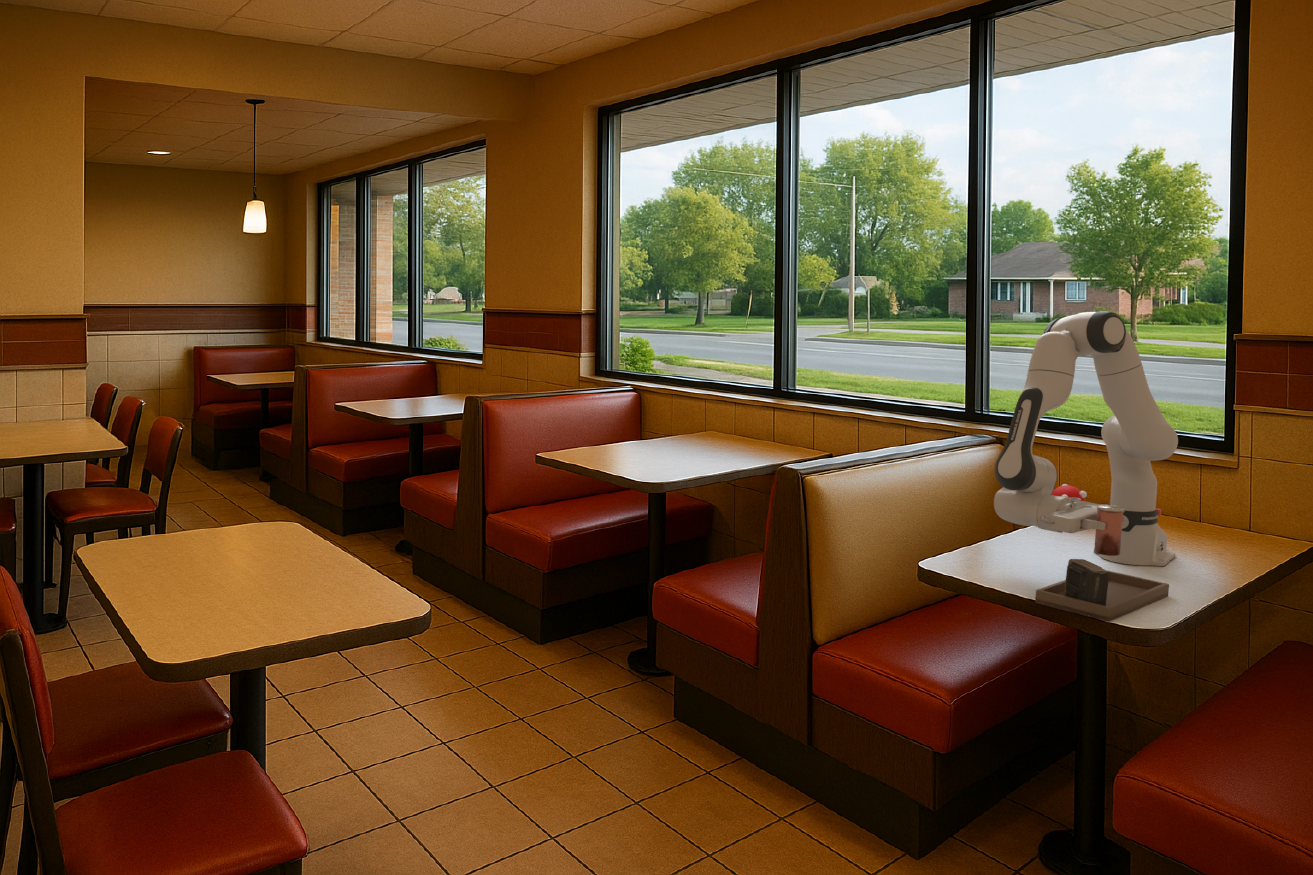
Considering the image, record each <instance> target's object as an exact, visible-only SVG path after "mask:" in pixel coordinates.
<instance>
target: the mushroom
mask: <svg viewBox="0 0 1313 875" xmlns="http://www.w3.org/2000/svg"><path fill="white" fill-rule="evenodd" d="M1052 495H1054V496H1061V497H1067V498H1070V497H1073V498H1080V499H1081V501H1085V502H1086V499H1085V498H1086V497H1087V496H1088V493H1087V492H1086V491H1085V490H1080V488H1078V487H1077V486H1072V485H1070V484H1067V483H1063V484H1062V485H1060V486H1058V487H1056V488H1054V490H1053V492H1052Z"/></svg>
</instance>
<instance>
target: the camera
mask: <svg viewBox="0 0 1313 875" xmlns="http://www.w3.org/2000/svg"><path fill="white" fill-rule="evenodd" d="M1067 562H1068V564H1067V566H1066V567H1067V568H1066V575H1065V580H1066V582H1065V591H1064V594H1065V596H1067V597H1071V598H1075V599H1079V600H1083V601H1087V602H1091V603H1095V604H1099V605H1103V606H1106V600H1107V589H1108V581H1109V579H1108V574H1107V573H1106V569H1105V568H1103V567H1102V566H1100V565H1098V564H1097V563H1096V564H1095V563H1093V562H1091V561H1089V560H1086V559H1083V558H1070V559H1069V560H1068V561H1067Z"/></svg>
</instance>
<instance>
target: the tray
mask: <svg viewBox="0 0 1313 875" xmlns="http://www.w3.org/2000/svg"><path fill="white" fill-rule="evenodd" d="M1105 570H1106V569H1105ZM1106 573H1107V574H1108V579H1109V581H1108V589H1107V600H1106V606H1103V605H1099V604H1095V603H1091V602H1087V601H1083V600H1079V599H1075V598H1071V597H1067V596H1065V594H1064V591H1065V582H1066V579H1063V580H1062V581H1058V582H1055V583H1053V584H1050V585H1047V586H1044V587H1041V588H1038V589H1036V590H1035V599H1034V603H1035V604H1039V605H1043V606H1047V607H1051V608H1054V609H1057V610H1061V611H1065V612H1070V613H1072V614H1077V615H1081V616H1085V617H1089V618H1092V619H1096V620H1100V621H1105V622H1107V623H1109V622H1112V621H1113V620H1116V619H1118V618H1121V617H1123V616H1126V615H1128V614H1130V613H1133V612H1135V611H1137V610H1140V609H1141V608H1144V607H1147V606H1149V605H1152V604H1153V603H1155V602H1158V601H1160V600H1162V599H1165V598H1168V596H1169V592H1170V591H1169V590H1170V583H1167V582H1163V581H1162V582H1161V581H1157V580H1152V579H1148V578H1143V577H1140V576H1139V577H1138V576H1135V575H1131V574H1130V575H1129V574H1125V573H1120V572H1116V571H1111V570H1106Z"/></svg>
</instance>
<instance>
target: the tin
mask: <svg viewBox="0 0 1313 875" xmlns="http://www.w3.org/2000/svg"><path fill="white" fill-rule="evenodd" d="M1123 511H1124V508H1123V507H1121V506H1116V505H1110V504H1099V505H1097V520H1096V521H1103V522H1107V529H1105V530H1099V529H1095V533H1094V534H1095V537H1094V549H1093V552H1094V554H1096V555H1099V554H1101V555H1108V556H1117V555H1120V548H1121V535H1122V522H1123Z"/></svg>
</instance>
